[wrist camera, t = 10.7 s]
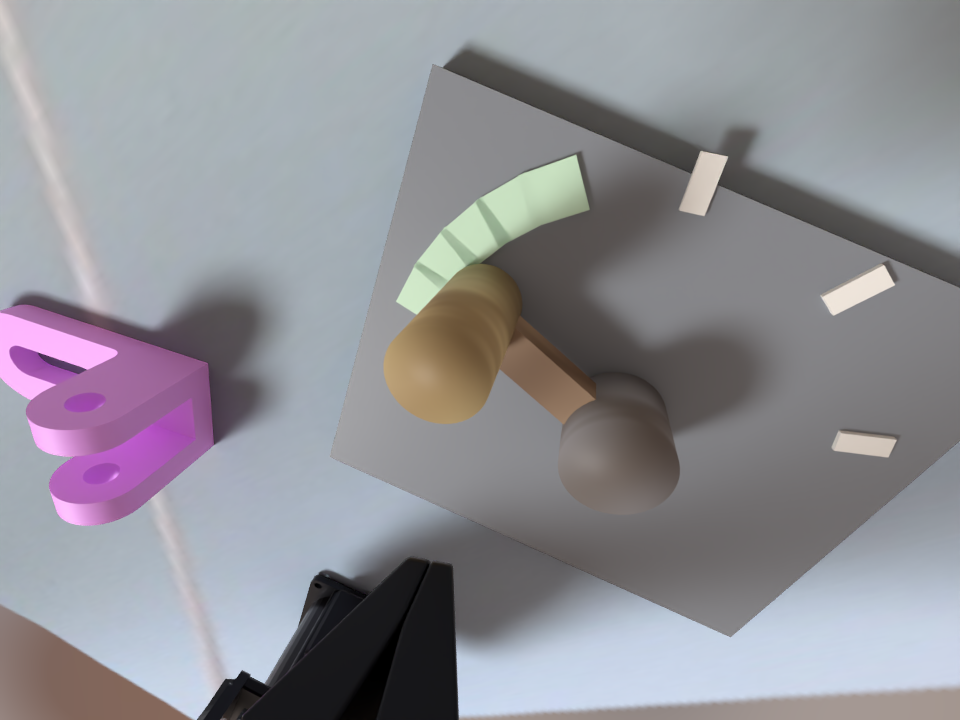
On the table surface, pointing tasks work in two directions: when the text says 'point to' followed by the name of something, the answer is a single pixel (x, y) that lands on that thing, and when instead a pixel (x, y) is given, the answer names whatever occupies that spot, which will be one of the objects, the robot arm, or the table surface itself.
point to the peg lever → (535, 391)
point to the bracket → (105, 411)
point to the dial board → (657, 355)
